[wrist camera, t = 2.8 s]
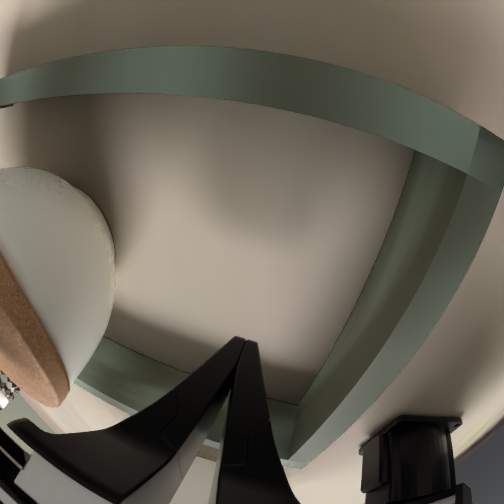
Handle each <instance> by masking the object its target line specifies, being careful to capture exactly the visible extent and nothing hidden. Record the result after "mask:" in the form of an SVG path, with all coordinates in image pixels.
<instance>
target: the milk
mask: <svg viewBox="0 0 504 504" xmlns="http://www.w3.org/2000/svg"><path fill="white" fill-rule="evenodd" d="M215 466H216V462H214V461H211V460H207V459H204V458H201V457H197V456H196V458H195V459H194V461H193V463H192V465H191V467H190V468H189V470H188V472H187V474H186V476H185V477H184V479H183V481H182V483H181V485H180V486H179V488H178V490H177V491H176V493H175V495H174V497H173V498H172V500H171V502H170V504H208V502H209V497H210V492H211V487H212V482H213V476H214V471H215Z"/></svg>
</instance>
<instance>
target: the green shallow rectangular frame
mask: <svg viewBox="0 0 504 504" xmlns="http://www.w3.org/2000/svg"><path fill="white" fill-rule="evenodd" d="M100 93H155V94H174V95H188V96H199V97H208V98H217V99H224V100H232V101H239V102H245V103H251V104H257V105H262V106H268V107H273V108H278V109H283V110H287V111H292V112H296V113H301V114H305V115H309V116H313V117H317V118H321V119H325V120H328V121H332V122H335V123H339V124H342V125H346V126H349V127H352V128H356V129H359V130H362V131H365V132H368V133H371V134H374V135H377V136H380V137H383V138H385V139H388V140H391V141H394V142H396V143H399V144H401V145H404V146H407V147H409V148H412V149H414V150H415V154H414V157H413V160H412V164H411V167H410V170H409V173H408V177H407V180H406V183H405V186H404V189H403V192H402V195H401V198H400V200H399V203H398V206H397V209H396V212H395V214H394V217H393V220H392V222H391V225H390V227H389V230H388V233H387V235H386V238H385V240H384V243H383V245H382V247H381V250H380V252H379V255H378V257H377V259H376V262H375V264H374V266H373V268H372V271H371V273H370V275H369V277H368V280H367V282H366V284H365V286H364V288H363V290H362V292H361V295H360V297H359V299H358V301H357V303H356V305H355V307H354V309H353V311H352V313H351V315H350V317H349V319H348V321H347V323H346V325H345V327H344V328H343V330H342V332H341V334H340V336H339V338H338V340H337V341H336V343H335V345H334V347H333V349H332V351H331V352H330V354H329V356H328V358H327V359H326V361H325V363H324V365H323V366H322V368H321V370H320V371H319V373H318V375H317V376H316V378H315V380H314V381H313V383H312V385H311V386H310V388H309V389H308V391H307V393H306V394H305V396H304V397H303V399H302V400H301V402H300V403H299V405H298V406H297V405H292V404H288V403H284V402H280V401H276V400H272V399H268V398H267V403H268V409H269V415H270V421H271V426H272V431H273V436H274V440H275V444H276V448H277V451H278V454H279V457H280V460H281V463H282V466H287V467H293V468H299V469H302V468H303V467H304V466H306V465H307V464H308V463H309V462H311V461H312V460H313V459H314V458H316V457H317V456H318V455H319V454H320V453H322V452H323V451H324V450H325V449H326V448H327V447H329V446H330V445H331V444H332V443H333V442H334V441H335V440H336V439H338V438H339V437H340V436H341V435H342V434H343V433H344V432H345V431H346V430H347V429H348V428H349V427H350V426H351V425H352V424H353V423H354V422H355V421H356V420H357V419H358V418H359V417H360V416H361V415H362V414H363V413H364V412H365V411H366V410H367V409H368V408H369V407H370V406H371V405H372V404H373V403H374V402H375V401H376V400H377V399H378V397H379V396H380V395H381V394H382V393H383V392H384V391H385V390H386V388H387V387H388V386H389V385H390V384H391V383H392V382H393V380H394V379H395V378H396V377H397V376H398V374H399V373H400V372H401V371H402V369H403V368H404V367H405V366H406V364H407V363H408V362H409V361H410V359H411V358H412V357H413V355H414V354H415V353H416V351H417V350H418V349H419V347H420V346H421V345H422V343H423V342H424V340H425V339H426V338H427V336H428V335H429V333H430V332H431V330H432V329H433V328H434V326H435V325H436V323H437V322H438V320H439V318H440V317H441V315H442V314H443V312H444V311H445V309H446V307H447V306H448V304H449V303H450V301H451V299H452V298H453V296H454V294H455V292H456V291H457V289H458V287H459V285H460V284H461V282H462V280H463V278H464V276H465V275H466V273H467V271H468V269H469V267H470V265H471V263H472V261H473V259H474V257H475V255H476V253H477V251H478V249H479V247H480V244H481V242H482V240H483V238H484V236H485V233H486V231H487V229H488V226H489V224H490V222H491V219H492V217H493V214H494V211H495V209H496V206H497V204H498V201H499V198H500V195H501V192H502V189H503V186H504V140H502V139H501V138H499V137H498V136H496V135H495V134H493V133H491V132H490V131H488V130H487V129H485V128H483V127H482V126H480V125H478V124H477V123H475V122H473V121H472V120H470V119H468V118H466V117H464V116H463V115H461V114H459V113H457V112H455V111H453V110H451V109H449V108H447V107H445V106H443V105H441V104H439V103H437V102H435V101H433V100H431V99H429V98H426V97H424V96H422V95H420V94H417V93H415V92H413V91H410V90H408V89H405V88H403V87H400V86H398V85H395V84H393V83H390V82H387V81H384V80H382V79H379V78H376V77H373V76H370V75H367V74H364V73H360V72H357V71H354V70H350V69H347V68H343V67H340V66H336V65H332V64H328V63H324V62H320V61H316V60H311V59H306V58H301V57H296V56H291V55H285V54H279V53H273V52H266V51H259V50H250V49H240V48H229V47H212V46H158V47H142V48H131V49H121V50H113V51H106V52H99V53H93V54H87V55H82V56H77V57H72V58H68V59H63V60H59V61H55V62H51V63H47V64H44V65H40V66H37V67H33V68H30V69H27V70H24V71H21V72H18V73H15V74H12V75H9V76H6V77H4V78H1V79H0V108H5V107H9V106H13V103H17V102H23V101H29V100H35V99H42V98H50V97H59V96H69V95H82V94H100ZM189 375H190V374H188V373H185V372H183V371H180V370H177V369H175V368H172V367H170V366H167V365H165V364H162V363H160V362H157V361H155V360H153V359H150V358H148V357H146V356H143V355H141V354H139V353H137V352H134V351H132V350H130V349H128V348H126V347H123V346H121V345H119V344H117V343H115V342H113V341H111V340H109V339H107V338H105V337H102V339H101V341H100V343H99V345H98V346H97V348H96V350H95V351H94V353H93V355H92V357H91V358H90V360H89V362H88V363H87V364H86V366H85V367H84V369H83V370H82V372H81V373H80V374H79V376H78V377H77V378H76V380H75V381H74V383H75V384H77V385H78V386H80V387H82V388H83V389H85V390H87V391H88V392H90V393H92V394H93V395H95V396H97V397H98V398H100V399H102V400H104V401H106V402H107V403H109V404H111V405H113V406H115V407H117V408H119V409H121V410H122V411H124V412H126V413H128V414H130V415H134V414H136V413H137V412H139V411H141V410H143V409H144V408H146V407H148V406H149V405H151V404H152V403H154V402H155V401H157V400H158V399H160V398H161V397H162V396H164V395H165V394H166V393H167V392H169V391H170V390H171V389H173V388H174V387H175V386H176V385H178V384H179V383H180V382H181V381H182V380H184V379H185V378H186V377H187V376H189ZM230 391H231V390H230ZM229 395H230V392H229ZM229 395H228V397H227V399H226V401H225V403H224V405H223V407H222V409H221V410H220V412H219V414H218V416H217V418H216V420H215V422H214V424H213V426H212V428H211V430H210V432H209V433H208V435H207V437H206V439H205V441H204V443H203V445H206V446H209V447H212V448H215V449H218V450H219V446H220V441H221V436H222V431H223V425H224V420H225V415H226V410H227V405H228V400H229Z"/></svg>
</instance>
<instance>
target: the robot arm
mask: <svg viewBox="0 0 504 504" xmlns="http://www.w3.org/2000/svg"><path fill="white" fill-rule="evenodd" d="M230 390H231V391H230ZM229 392H230V395H229ZM228 395H229V400H228V405H227V410H226V415H225V420H224V425H223V431H222V436H221V441H220V446H219V451H218V456H217V461H216V466H215V471H214V476H213V482H212V487H211V492H210V497H209V502H208V504H300V502H299V501H298V500H297V498H296V497H295V495H294V494H293V492H292V490H291V488H290V485H289V483H288V480H287V477H286V475H285V472H284V469H283V466H282V463H281V460H280V457H279V454H278V451H277V448H276V444H275V440H274V436H273V431H272V426H271V421H270V415H269V409H268V403H267V397H266V391H265V385H264V379H263V373H262V367H261V360H260V354H259V348H258V343H257V342H255V341H251V340H246V339H244V338H241V337H238V336H235V337H233V338H232V339H231V340H230V341H229V342H228V343H226V344H225V345H224V346H223V347H222V348H221V349H219V350H218V351H217V352H216V353H215V354H214V355H212V356H211V357H210V358H209V359H208V360H206V361H205V362H204V363H203V364H202V365H201V366H199V367H198V368H197V369H196V370H195V371H193V372H192V373H191V374H190V375H189V376H187V377H186V378H185V379H184V380H182V381H181V382H180V383H179V384H178V385H176V386H175V387H174V388H173V389H171V390H170V391H169V392H167V393H166V394H165V395H164V396H162V397H161V398H160V399H158V400H157V401H155V402H154V403H152V404H151V405H149V406H148V407H146V408H144V409H143V410H141V411H139V412H137V413H136V414H134V415H132V416H130V417H129V418H127V419H125V420H123V421H121V422H119V423H118V424H116V425H114V426H111V427H109V428H106V429H102V430H97V431H89V432H79V433H68V434H51V433H47V432H44V431H43V430H41V429H40V428H38V427H37V426H36V425H35V424H34V423H32V422H31V421H30V420H29V419H27V418H22V419H17V420H14V421H11V422H10V423H8V424H7V426H8V427H9V428H10V429H11V430H12V431H13V432H14V433H15V434H16V435H17V436H18V437H19V438H20V439H21V440H23V441H24V442H25V443H26V444H27V445H28V446H29V447H31V448H32V449H33V452H32V454H31V455H29V454H28V453H27V452H26V451H25V450H24V449H23V448H21V447H20V446H19V445H18V444H17V443H16V442H15V441H14V440H13V439H12V438H11V437H10V436H9V435H8V434H7V433H6V432H5V431H4V430H3V429H2V428H1V427H0V504H170V502H171V500H172V498H173V497H174V495H175V493H176V491H177V490H178V488H179V486H180V485H181V483H182V481H183V479H184V477H185V476H186V474H187V472H188V470H189V468H190V467H191V465H192V463H193V461H194V459H195V458H196V456H197V454H198V452H199V450H200V448H201V447H202V445H203V443H204V441H205V439H206V437H207V435H208V433H209V432H210V430H211V428H212V426H213V424H214V422H215V420H216V418H217V416H218V414H219V412H220V410H221V409H222V407H223V405H224V403H225V401H226V399H227V397H228ZM461 425H462V419H461V418H434V417H414V416H400V417H398V418H396V419H395V420H394V421H393V422H392V423H391V424H389V425H388V426H387V427H386V428H385V429H384V430H382V431H381V432H380V433H379V434H378V435H377V436H375V437H374V438H373V439H372V440H370V441H369V442H368V443H367V444H365V445H364V446H363V447H361V448H360V449H359V455H362V456H363V464H362V480H361V491H362V493H366V498H365V504H451V503H454V502H455V504H473V503H472V492H471V488H470V487H469V486H468V485H466V484H465V483H464V482H463V483H460V484H458V485H456V479H455V467H454V458H453V449H452V442H451V435H450V434H451V433H452V432H453V431H454V430H456V429H457V428H458V427H459V426H461Z"/></svg>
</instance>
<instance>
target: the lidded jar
mask: <svg viewBox="0 0 504 504" xmlns="http://www.w3.org/2000/svg"><path fill="white" fill-rule="evenodd" d="M114 264H115V248H114V242H113V238H112V234H111V231H110V229H109V226H108V224H107V222H106V220H105V218H104V216H103V214H102V212H101V211H100V209H99V208H98V206H97V205H96V204H95V202H94V201H93V200H92V199H91V198H90V197H89V196H88V195H87V194H86V193H84V192H83V191H82V190H80V189H78V188H77V187H74V186H72V185H70V184H69V183H68V182H66V181H65V180H63V179H62V178H60V177H58V176H56V175H55V174H52V173H50V172H47V171H44V170H41V169H37V168H30V167H12V168H2V169H0V369H1V370H2V372H3V373H4V374H5V375H6V376H7V377H8V378H9V379H10V380H11V381H12V382H13V383H15V384H16V385H17V386H18V387H19V388H20V389H21V390H23V391H24V392H25V393H26V394H28V395H29V396H30V397H32V398H33V399H35V400H36V401H38V402H40V403H42V404H43V405H45V406H48V407H52V408H53V407H58V406H60V404H61V403H62V402H63V400H64V399H65V398H66V396H67V394H68V392H69V391H70V386H71V385H72V384H73V382H74V381H75V380H76V378H77V377H78V376H79V374H80V373H81V372H82V370H83V369H84V367H85V366H86V364H87V363H88V362H89V360H90V358H91V357H92V355H93V353H94V351H95V350H96V348H97V346H98V345H99V343H100V341H101V339H102V337H103V335H104V332H105V330H106V328H107V326H108V322H109V319H110V315H111V312H112V308H113V305H114V296H115V285H116V283H115V268H114Z"/></svg>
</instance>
